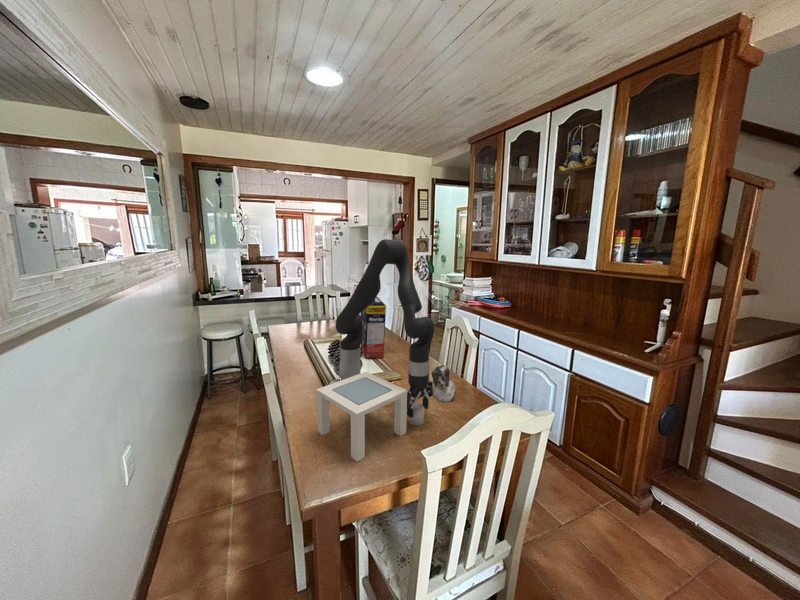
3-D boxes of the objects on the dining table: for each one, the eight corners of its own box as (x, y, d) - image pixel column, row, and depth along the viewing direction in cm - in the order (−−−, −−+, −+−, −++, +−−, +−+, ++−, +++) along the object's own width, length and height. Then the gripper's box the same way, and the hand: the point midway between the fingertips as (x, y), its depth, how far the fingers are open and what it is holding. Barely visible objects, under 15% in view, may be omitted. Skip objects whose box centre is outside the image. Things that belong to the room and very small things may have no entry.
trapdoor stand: (317, 431, 117) (316, 389, 114) (365, 409, 132) (365, 371, 129) (357, 461, 102) (356, 413, 99) (406, 432, 117) (407, 390, 114)
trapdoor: (333, 392, 114) (332, 389, 114) (364, 380, 124) (364, 377, 124) (358, 407, 104) (358, 404, 104) (390, 392, 114) (390, 390, 114)
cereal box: (384, 359, 187) (387, 303, 181) (364, 359, 184) (366, 303, 178) (376, 344, 212) (378, 294, 206) (358, 344, 209) (360, 294, 204)
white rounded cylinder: (406, 421, 124) (407, 406, 123) (416, 416, 128) (416, 401, 127) (417, 427, 121) (417, 412, 120) (426, 421, 124) (427, 406, 123)
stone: (459, 405, 139) (446, 379, 134) (437, 412, 142) (423, 386, 137) (457, 384, 152) (445, 359, 146) (437, 390, 154) (424, 365, 149)
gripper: (423, 363, 128) (422, 402, 131) (397, 373, 118) (397, 415, 121) (439, 368, 123) (437, 409, 126) (413, 380, 113) (412, 423, 116)
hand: (417, 412), depth 124 cm, fingers open, 8 cm apart
